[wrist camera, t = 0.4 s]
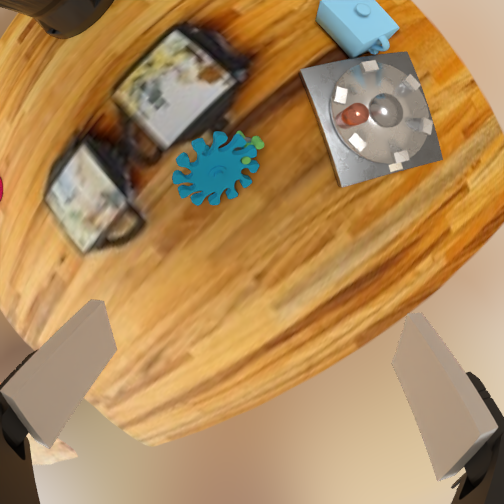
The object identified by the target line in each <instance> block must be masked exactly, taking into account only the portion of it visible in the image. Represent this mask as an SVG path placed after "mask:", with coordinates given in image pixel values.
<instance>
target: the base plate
mask: <svg viewBox="0 0 504 504" xmlns="http://www.w3.org/2000/svg"><path fill="white" fill-rule="evenodd" d="M372 60H376V62H378V63H383V64H387V65H390V66H392V67H395V68H397V69H398V70H400V71H402V72H403V73H404V74H406V75H409V74H411V75H412V76H413V77H414V78H415V79H416V80H417V81H418V82H419V79H418V77H417V74H416V72H415V69H414V67H413V64H412V62H411V60H410V57H409V55H408V53H407V52H397V53H388V54H380V55H372V56H365V57H359V58H353V59H347V60H342V61H337V62H332V63H327V64H322V65H318V66H314V67H309V68H305V69H301V70H300V72H299V76H300V78H301V80H302V83H303V85H304V88H305V90H306V93H307V95H308V98H309V100H310V103H311V106H312V108H313V111H314V114H315V116H316V119H317V122H318V125H319V127H320V130H321V133H322V136H323V139H324V142H325V145H326V148H327V151H328V154H329V157H330V160H331V163H332V166H333V170H334V173H335V176H336V179H337V183H338V186H340V187H346V186H349V185H352V184H356V183H359V182H363V181H366V180H370V179H373V178H377V177H380V176H384V175H387V174H391V173H395V172H398V171H402V170H406V169H409V168H413V167H417V166H420V165H424V164H428V163H432V162H436V161H440V160H443V158H442V154H441V150H440V146H439V142H438V138H437V134H436V131H435V127H434V124H432V131H431V135H427V137H426V140H425V142H424V144H423V146H422V147H421V148H420V150H419V151H418V152H417V153H416V154H415V155H413V156H412V157H411V158H409V160H408V161H404V162H400V163H397V164H396V163H390V164H387V163H377V162H373V161H370V160H367V159H365V158H363V157H361V156H359V155H357V154H356V153H355V152H353V151H352V150H351V149H350V148H349V147H348V146H347V145H346V144H345V143H344V142H343V141H342V139H341V138H340V136H339V135H338V133H337V131H336V129H335V127H334V124H333V121H332V118H331V111H330V101H331V95H332V91H333V89H334V87H335V85H336V83H337V82H338V80H339V79H340V78H341V77H342V76H343V74H344V73H345V72H347V71H348V70H349V69H351V68H352V67H354V66H356V65H359V64H360V63H361V62H365V61H372ZM419 84H420V82H419ZM419 90H420V91H421V93H422V95H423V97H424V99H425V102H426V104H427V101H426V98H425V95H424V93H423V90H422V87H421V84H420V87H419ZM427 108H428V113H429V120H431V121H433V120H432V117H431V114H430V110H429V107H428V104H427Z"/></svg>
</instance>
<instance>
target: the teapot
mask: <svg viewBox="0 0 504 504" xmlns="http://www.w3.org/2000/svg"><path fill="white" fill-rule="evenodd" d="M315 21H316V22H317V23H318V24H319V25H320V26H321V27H322V28H323V29H324V30H325V31H326V32H327V33H328V34H329V35H330V36H331V37H332V38H333V40H334V41H335V42H336V43H337V44H338V45H339V46H340V47H341V48H342V50H343V51H344V52H345V53H346V54H347V55H348V56H349V58H350V59H353V58H357V57H359V56H361V55H363V54H364V53H366V52H368V51H369V52H370V53H371V54H374V55H375V54H378V52H379V51H386V50H388V49H389V46H390V45H389V41H388V39H389V38H390V37H391V36H392V35H393V34H394V33H395V32H396V31H397V30H398V29H399V26H398V25H397V24H396V23H395V22H394V21H393V19H392V18H391V17H390V16H389V15H388V14H387V13H386V12H385V11H384V10H383V8H382V7H381V6H380V5H379V4H378V3H377V2H376V1H375V0H322V1H320V4H319V8H318V12H317V16H316V20H315ZM380 45H382V46H380Z"/></svg>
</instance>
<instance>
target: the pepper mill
mask: <svg viewBox="0 0 504 504" xmlns="http://www.w3.org/2000/svg"><path fill="white" fill-rule="evenodd" d="M2 194H3V185H2V181H1V178H0V201H1V198H2Z"/></svg>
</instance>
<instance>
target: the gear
mask: <svg viewBox="0 0 504 504" xmlns="http://www.w3.org/2000/svg"><path fill="white" fill-rule="evenodd" d="M226 141H227V136H226V134H225V133H224V132H219V131H215V132H214V134H213V144H212V146H211V148H210V147H209V146H208V145H206V144H205V142H204V140H203V138H198V139H195V140H193V141H192V142H191V144H192V147H193V149H194V150H195V151H196V152H197V160H196V161H195V162H192V163H191V162H190V160H189V157H188V155H187V153H185V152H183V153H181V154H180V155H179V156H178V157H177V158H176V161H177V164H178V166H180V167H186V168H188V169H189V170H191V173H190V174H189V175H184V174H183V173H182V172H181V171H179V170H176V171H174V173H173V176H172V180H173V183H174V184H180V183H184V182H189V183H193V185H191V186H186V185H181V186H179V187H178V191H179V194H180V197H181V198H186V197H187V196H188V195H190V194H191V193H193V192H197V191H202V192H200V193H195V194H193V195H192V196H191V197H190V198H191V200H192V203H193V204H195V205H197V206H199V205H200V204H201V203H202V202H203V200H204V198H205V197H206V196H208V195H209V194H211V193H213V192H215V193H213V194H212V195H210V196H209V197H208V201H209V203H210V205H218V204H219V203H220V196H221V194H222V192H223V191H224V190H225V189H226V188H228V189H227V191H226V195H227V197H228V199H233V198H235V197H237V196H238V193H237V191H236V189H235V188H234V184H235V181H236V180H239V179H240V183H241V185H242V186H243V187H244V188H246V187H248V186H249V185H250V184H251V183H252V180H251V179H250V177H249V176H247V175H243V174H242V173H241V170H242V169H244V168H248V169H249V170H250V172H251V173H255V172H256V171H257V170H258V168H259V164H258V162H257V161H256V160H251V158H254V157H256V156H257V150H256V149H262V148H263V147H264V142H263V141H262V140H261V139H260V137H259V136H254V137H253V138H252V139H251V138H250V137H245V136H244V134H243V133H242V132H241V131H237V133H236V135H234V137H233V139H232V140H231V142H230V143H229V144H227V145H226V146H224V147H222V148H218V147H219V146H220V145H222V144H224V143H225V142H226ZM255 147H256V148H255Z"/></svg>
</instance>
